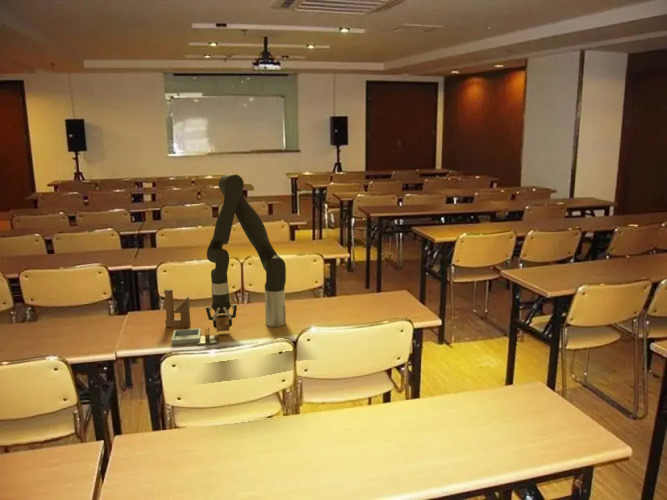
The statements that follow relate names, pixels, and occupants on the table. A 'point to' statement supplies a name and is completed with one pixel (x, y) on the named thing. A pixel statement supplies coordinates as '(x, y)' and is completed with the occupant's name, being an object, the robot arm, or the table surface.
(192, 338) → the tray
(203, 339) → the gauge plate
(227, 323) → the bored block
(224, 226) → the robot arm
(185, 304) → the brown upright angular piece
